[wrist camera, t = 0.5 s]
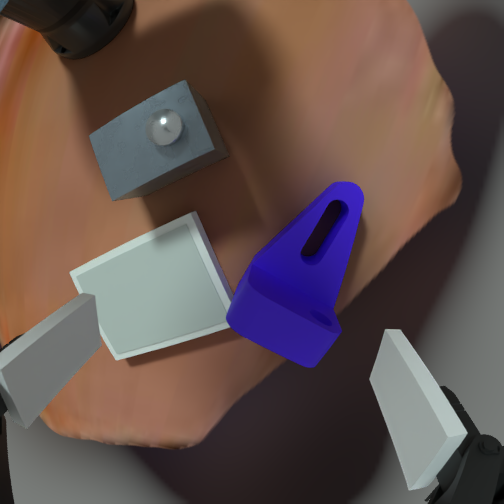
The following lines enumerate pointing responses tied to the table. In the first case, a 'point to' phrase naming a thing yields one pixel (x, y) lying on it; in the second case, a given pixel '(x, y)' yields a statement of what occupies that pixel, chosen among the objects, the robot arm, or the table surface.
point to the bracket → (298, 282)
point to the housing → (157, 143)
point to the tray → (157, 289)
